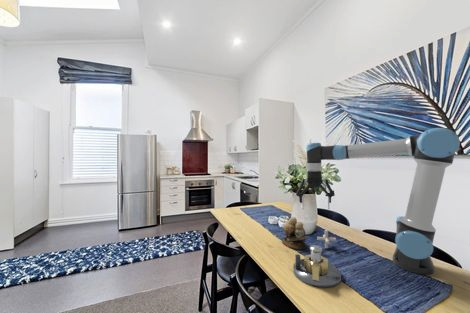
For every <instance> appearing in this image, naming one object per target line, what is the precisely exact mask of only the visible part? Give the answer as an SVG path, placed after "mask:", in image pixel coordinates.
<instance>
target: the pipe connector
mask: <svg viewBox="0 0 470 313" xmlns="http://www.w3.org/2000/svg"><path fill="white" fill-rule="evenodd" d="M316 238H317V239H316V240H317V241H324V248H325V249H329V245H330V244H331V242H336V241H337V238H336V237H331V236H330V237H329V230H328V229H324V234H322V236H316Z"/></svg>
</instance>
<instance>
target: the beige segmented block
mask: <svg viewBox="0 0 470 313" xmlns="http://www.w3.org/2000/svg"><path fill="white" fill-rule="evenodd" d="M303 259H304V268H305V269H306V270H307V271H308V272H310V273H312V274H313V280H317V281H319V275H320V274H321V275H324V274H327V273H328V263H329V259H328V258H326V257H325V256H322V255H321V263H319V262H318V261H313V262H312V261H311V253H310V254H306V255H304V258H303Z"/></svg>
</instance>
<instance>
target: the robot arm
mask: <svg viewBox="0 0 470 313" xmlns="http://www.w3.org/2000/svg"><path fill="white" fill-rule="evenodd" d="M460 142H461V141H460V137H459V136H458V134H457V133H456V132H455V131H453V130H451V129H449V128H443V127H434V128H433V127H432V128H430V129H426V130H425V131H423V132H422V133H419V134H416V135H409V136H407V137H406V138H401V139H400V138H399V139H393V140H392V139H391V140H384V141H383V140H382V141H376V142H375V141H374V142H367V143H365V142H364V143H356V144H347V145H341V144H338V145H337V144H336V145H322V144H321V142H309V143H307V144H306V166H307V167H306V170H307V171H306V174H307V175H306V176H307V178H306V179H304V178H302V179H301V181H300V185H299V187H298V189H297V191H296V193H295V195H296V196H297V197H299V198H298V200H299V203H300V204H301V205H300V206H301V209H302V210H304V209H305V207H304V206H305V205H304V204H305V203H304V200H305V199H304V195H305V194H306V192H307V191H308V190H309V189H311V188H320V189H321V191H322V192H323V193H324V194H325V195H326V198H325V199H326V203H325V204H326V205H325V206H326V207H325V208H326V209H327V210H330V204H332V197H335V193H334V190H333V189H332V188H331V185H330V184H329V180H328V179H327V178H325V179H323V178H322V177H323V176H322V174H323V173H322V169H323V168H322V167H323V166H322V161H326V160H327V161H341V160H347V159H359V158H360V159H361V158H372V157H373V158H374V157H388V156H400V155H401V156H403V155H404V156H405V155H408V156H411V157H413V160H414V162H416V168H415V171H414V176H413V182H412V183H411V184H412V185H411V189H410V194H409V199H408V203H407V206H406V211H405V216H401V215H399V216H397V217H396V221H395V224H396V232H395V233H396V234H395V237H394V242H395V245H396V248H395V249H394V252H393V255H392V263H393V264H394V265H395V266H397V267H398V268H400V269H402V270H405V271H407V272H410V273H414V274H419V275H432V274H434V273H435V265H434V262H433V260H432V257H431V255H432V254H433V252H434V245H433V243H434V238H435V234H436V231H437V229H436V228H435V227H434V225H433V220H434V216H435V213H436V208H437V203H438V200H439V196H440V192H441V189H442V184H443V180H444V176H445V173H446V168H447V167H449V166H451V165H453V163H454V158H455V156H456V155H455V154H456V152H457V151H458V150H459V148H460V145H461V143H460ZM306 183H307V184H306ZM323 183H324V184H325V187H326V188H327V189H328V190H327V189H326V188H325V187H324V186H323V185H322V184H323ZM305 184H306V186H305ZM304 186H305V187H304Z"/></svg>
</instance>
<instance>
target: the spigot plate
mask: <svg viewBox="0 0 470 313" xmlns="http://www.w3.org/2000/svg"><path fill="white" fill-rule="evenodd" d="M309 250H310V254H311V261H312V262H313V261H318V262H319V263H321V256H322V252H323V247H322V246H320V245H318V244H317V245H316V244H311V245H310V246H309ZM294 256H295V257H294V258H295V260H294V263H293V265H292V268H293V269H292V270H293V274H294V277H295V278H297V279H298V280H299V281H300V282H302V283H304V284H306V285H308V286H310V287H314V288H319V289H330V288H335V287H338V286H339V285H340V284H341V281H342V273H341V271H340V270H339V268H337V267H336V266H335V265H334V264H331V263H330V262H328V273H327V274H324V275H321V274H320V275H319V281H317V280H313V274H312V273H310V272H308V271H307V270H306V269H305V268H304V258H301V255H300V254H298V253H297V254H294Z"/></svg>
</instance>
